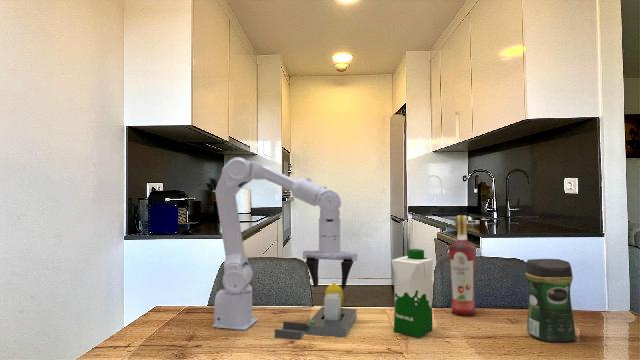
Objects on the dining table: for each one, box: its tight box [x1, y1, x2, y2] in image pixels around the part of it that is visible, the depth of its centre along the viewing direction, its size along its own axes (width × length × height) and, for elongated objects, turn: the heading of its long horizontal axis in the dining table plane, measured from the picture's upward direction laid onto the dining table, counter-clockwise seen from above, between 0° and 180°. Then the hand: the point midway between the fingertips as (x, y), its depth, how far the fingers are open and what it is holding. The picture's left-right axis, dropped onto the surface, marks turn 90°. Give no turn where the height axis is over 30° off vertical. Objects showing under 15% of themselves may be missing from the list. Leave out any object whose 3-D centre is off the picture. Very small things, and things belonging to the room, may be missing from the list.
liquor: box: [448, 215, 477, 317], centre depth 111 cm, size 7×7×28 cm
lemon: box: [324, 282, 344, 305], centre depth 114 cm, size 6×6×8 cm
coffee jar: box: [525, 258, 576, 342], centre depth 92 cm, size 10×8×19 cm
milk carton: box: [390, 248, 434, 339], centre depth 97 cm, size 9×9×20 cm
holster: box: [274, 320, 308, 341], centre depth 95 cm, size 6×7×2 cm
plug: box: [323, 293, 342, 321], centre depth 101 cm, size 4×4×8 cm
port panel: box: [305, 306, 358, 338], centre depth 101 cm, size 10×16×3 cm, turn 165°
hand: (329, 287), depth 102 cm, fingers open, 7 cm apart
